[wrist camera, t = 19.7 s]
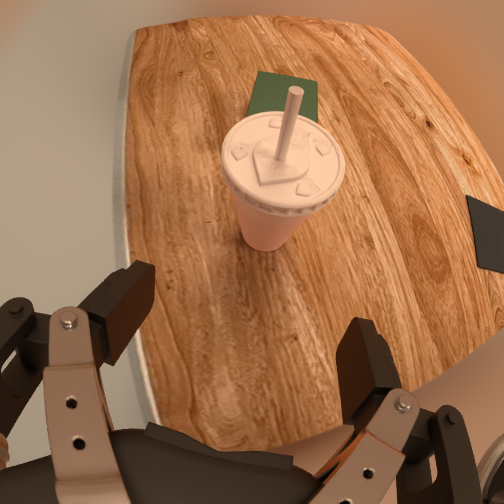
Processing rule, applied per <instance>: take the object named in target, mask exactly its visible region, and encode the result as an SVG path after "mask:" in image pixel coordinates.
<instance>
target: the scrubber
mask: <svg viewBox="0 0 504 504" xmlns="http://www.w3.org/2000/svg"><path fill="white" fill-rule="evenodd" d="M291 86H298V87H300V88H302V89H303V90H304V93H303V97H302V101H301V104H300V108H299V112H298V115H300V116H303V117H306V118H308V119H310V120H312V121H314V122H315V123H317V124H318V93H317V82H316V81H312V80H307V79H303V78H298V77H293V76H287V75H281V74H276V73H269V72H262V71H258V74H257V77H256V81H255V85H254V88H253V92H252V96H251V100H250V103H249V107H248V111H247V115H246V117H249V116H251V115H254V114H258V113H262V112H270V111H281V112H284V110H285V105H286V101H287V96H288V91H289V88H290V87H291Z"/></svg>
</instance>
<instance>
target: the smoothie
mask: <svg viewBox="0 0 504 504" xmlns="http://www.w3.org/2000/svg"><path fill="white" fill-rule="evenodd" d="M303 93H304V90H303V89H302V88H300V87H298V86H291V87H290V88H289V91H288V96H287V101H286V105H285V110H284V112H281V111H270V112H262V113H258V114H254V115H251V116H249V117H246V118H244V119H243V120H241V121H239V122H238V123H237V124H235V125H234V126H233V127H232V128H231V129H230V131H229V132H228V133H227V135H226V137H225V139H224V141H223V145H222V155H221V171H222V174H223V177H224V179H225V182H226V184H227V185H228V187H229V188H230V189H231V191H232V193H233V197H234V201H235V205H236V210H237V214H238V218H239V223H240V227H241V231H242V235H243V238H244V240H245V241H246V243H247V244H248V245H249V246H250V247H252V248H253V249H255V250H258V251H263V252H269V251H274V250H276V249H278V248H279V247H281V246H282V245H283V244H284V243H285V242H286V241H287V239H288V238H289V237H290V236H291V235H292V234H293V233H294V232H295V231H296V230H297V229H298V228H299V227H300V225H301V224H302V223H303V222H304V221H305V220H306V219H307V218H308V217H309V216H310V215H311V214H312V213H315V212H317V211H318V210H320V209H322V208H323V207H325V206H326V205H328V204H329V203H330V201H331V200H332V199H333V198H334V197H335V195H336V194H337V191H338V189H339V186H340V185H341V183H342V181H343V178H344V173H345V161H344V157H343V153H342V151H341V149H340V147H339V145H338V143H337V142H336V140H335V139H334V138H333V137H332V135H331V134H330V133H329V132H328V131H326V130H325V129H324V128H323V127H322V126H320V125H319V124H317V123H315V122H314V121H312V120H310V119H308V118H306V117H303V116H300V115H298V112H299V108H300V104H301V101H302V97H303Z"/></svg>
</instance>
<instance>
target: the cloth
mask: <svg viewBox="0 0 504 504" xmlns="http://www.w3.org/2000/svg"><path fill="white" fill-rule="evenodd" d="M466 199H467V203H468V208H469V213H470V218H471V223H472V229H473V235H474V242H475V249H476V257H477V267H481V268H485V269H489V270H493V271H497V272H501V273H504V212H503V211H501V210H499V209H497V208H495V207H493V206H491V205H489V204H486V203H484V202H482V201H480V200H478V199H475V198H473V197H471V196H468V195H466Z"/></svg>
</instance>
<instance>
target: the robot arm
mask: <svg viewBox="0 0 504 504" xmlns="http://www.w3.org/2000/svg"><path fill="white" fill-rule="evenodd" d="M154 293H155V266H154V265H152V264H149V263H145V262H142V261H139V260H136V261H135V262H134V263H133V264H132V265H131V266H130V267H129V268H128V269H123V268H122V269H120V270H117V271H115V272H113V273H111V274H110V275H109V276H108V277H107V278H106V279H105V280H104V282H102V283H101V284H100V285H99V286H98V287H97V288H95V289H94V290H93V291H92V293H90V294H89V295H88V296H87V297H86V299H84V300H83V301H82V302H81V303H80V304H79V305H78V306H77V307H64V308H61V309H59V310H57V311H56V312H54V313H53V314H52V315H47V314H42V313H37V312H34V308H33V305H32V303H31V301H30V300H28V299H26V298H23V297H17V298H13V299H10V300H9V301H7V302H6V303H5V304H3V305H2V306H1V307H0V504H379V503H380V501H381V500H382V498H383V497H384V495H385V493H386V492H387V490H388V488H389V487H390V485H391V483H392V482H393V480H394V478H395V476H396V487H397V504H504V452H503V453H502V454H501V455H500V457H499V458H498V460H497V461H496V463H495V465H494V466H493V468H492V470H491V472H490V474H489V476H488V478H487V481H486V483H485V486H484V490H483V498H484V499H483V500H482V494H481V488H480V482H479V477H478V472H477V468H476V463H475V459H474V455H473V451H472V447H471V443H470V440H469V436H468V433H467V429H466V426H465V423H464V419H463V417H462V415H461V413H460V412H459V411H458V410H457V409H456V408H454V407H452V406H450V405H443V406H441V407H440V408H439V409H438V410H437V411H436V412H435V413H434V412H431V411H428V410H425V409H422V408H420V406H419V403H418V400H417V399H416V397H415V396H414V395H413V394H412V393H410V392H409V391H407V390H405V389H403V388H402V385H401V382H400V379H399V376H398V372H397V369H396V366H395V363H393V362H394V360H393V357H392V355H391V351H390V348H389V346H388V343H387V342H386V341H385V339H384V338H383V337H382V336H381V334H377V331H376V328H375V325H374V322H373V321H372V320H368V319H363V318H358V317H354V318H353V319H352V321H351V323H350V324H349V326H348V328H347V330H346V332H345V334H344V336H343V338H342V339H341V341H340V343H339V345H338V348H337V351H336V365H337V373H338V381H339V390H340V399H341V408H342V418H343V424H347V425H354V431H353V432H352V433H351V434H350V435H349V436H348V438H347V439H346V440H345V441H344V443H343V444H342V445H341V446H340V448H339V449H338V450H337V451H336V453H335V454H334V455H333V456H332V457H331V459H330V460H329V461H328V462H327V463H326V464H325V465H324V466H323V467H322V468H321V469H320V470H319V471H318V472H317V473H316V474H315V475H314V476H313V475H312V474H310V473H308V472H307V471H305V470H303V469H301V468H299V467H297V466H294V465H293V456H289V455H281V454H274V453H267V452H261V451H244V452H222V451H217V450H215V449H213V448H211V447H209V446H207V445H205V444H203V443H201V442H199V441H197V440H195V439H193V438H191V437H189V436H188V435H186V434H184V433H181V432H178V431H175V430H172V429H169V428H166V427H163V426H160V425H157V424H154V423H152V422H148V425H147V427H146V429H121V430H114V426H113V423H112V420H111V417H110V414H109V410H108V406H107V402H106V397H105V393H104V389H103V384H102V379H101V374H100V369H99V368H100V367H101V365H102V364H103V362H104V363H107V364H109V365H111V366H114V365H115V363H116V361H117V360H118V359H119V357H120V355H121V354H122V352H123V351H124V349H125V348H126V346H127V345H128V343H129V342H130V340H131V339H132V337H133V336H134V334H135V333H136V331H137V330H138V328H139V327H140V325H141V324H142V322H143V321H144V319H145V318H146V317H147V315H148V314H149V312H150V311H151V308H152V306H153V302H154ZM14 350H15V351H16V355H15V356H14V358H13V359H12V360H11V362H10V363H9V364H8V365H7V367H6V368H5V369H4V371H3V372H2V373H1V368H2V366H3V364H4V362H5V361H6V360H7V359H8V357H9V356H10V355H11V354H12V352H13V351H14ZM42 379H43V384H44V402H45V413H46V423H47V431H48V437H49V443H50V450H51V455H48V456H45V457H42V458H39V459H36V460H33V461H30V462H26V463H23V464H19V465H16V466H12V467H8V468H6V463H7V462H8V461H9V453H8V443H7V440H6V438H7V437H8V435H9V433H10V431H11V429H12V428H13V426H14V424H15V423H16V421H17V419H18V417H19V416H20V414H21V412H22V411H23V409H24V407H25V406H26V404H27V403H28V401H29V399H30V398H31V396H32V395H33V393H34V391H35V390H36V388H37V387H38V385H39V384H40V382H41V381H42ZM433 454H435V460H436V466H437V478H436V480H435V481H434V483H433V484H432V477H431V470H430V463H429V458H430V457H431V456H432V455H433Z"/></svg>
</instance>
